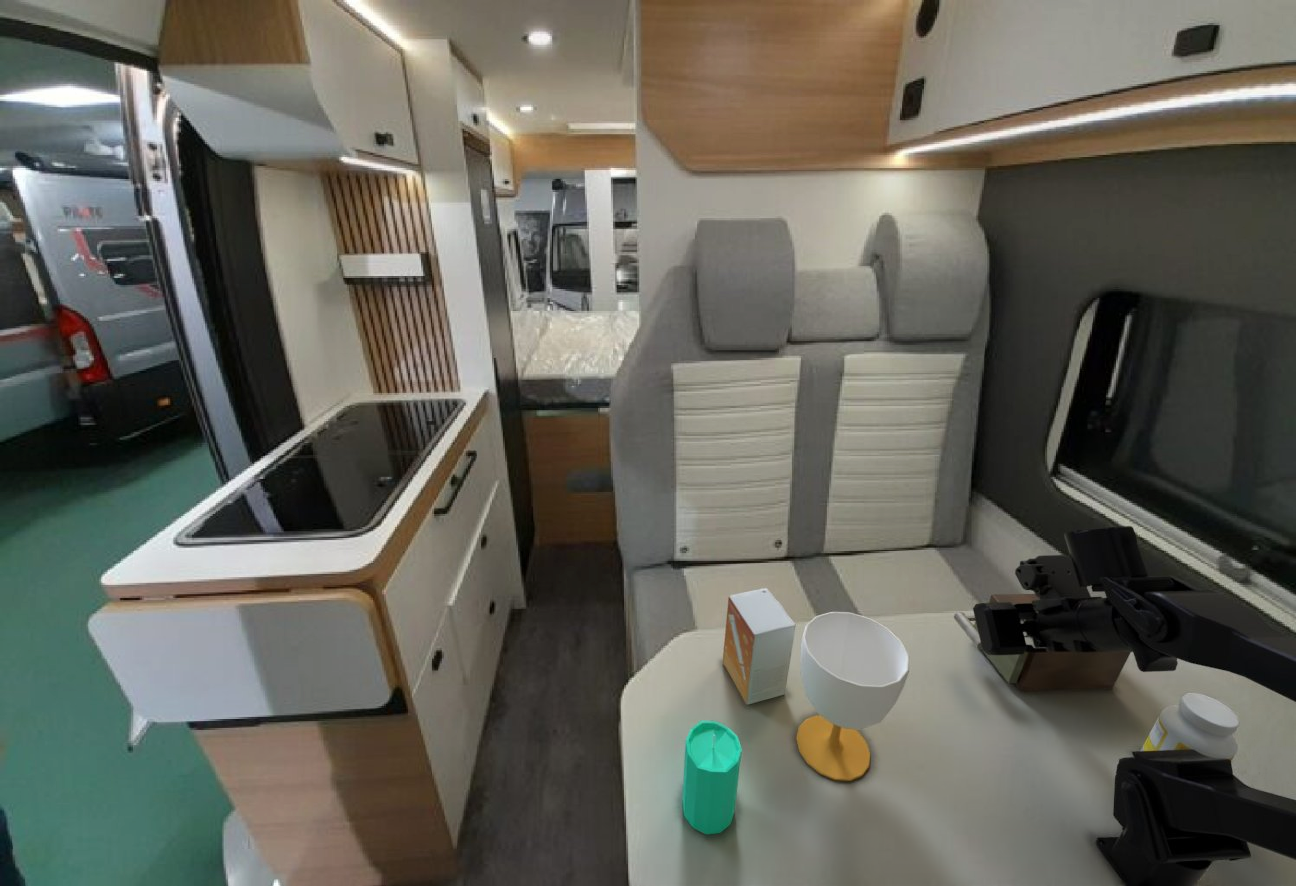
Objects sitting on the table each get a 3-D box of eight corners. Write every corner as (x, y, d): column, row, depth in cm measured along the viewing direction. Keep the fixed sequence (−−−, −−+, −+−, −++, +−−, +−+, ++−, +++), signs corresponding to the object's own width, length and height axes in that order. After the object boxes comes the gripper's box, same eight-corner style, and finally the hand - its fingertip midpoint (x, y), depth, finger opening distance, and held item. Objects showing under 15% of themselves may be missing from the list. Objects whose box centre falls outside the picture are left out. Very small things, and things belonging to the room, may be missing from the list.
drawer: (974, 683, 77) (987, 648, 74) (939, 635, 85) (949, 602, 82) (1092, 681, 77) (1109, 645, 74) (1046, 633, 86) (1060, 600, 83)
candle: (673, 791, 63) (677, 720, 58) (719, 773, 65) (726, 703, 60) (695, 843, 58) (701, 770, 53) (744, 822, 60) (753, 750, 55)
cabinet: (1020, 690, 77) (1039, 645, 73) (976, 636, 86) (991, 594, 83) (1112, 689, 77) (1135, 643, 74) (1058, 635, 87) (1076, 592, 83)
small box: (721, 662, 81) (727, 594, 76) (759, 653, 83) (767, 586, 77) (745, 706, 74) (754, 634, 68) (786, 695, 76) (797, 624, 70)
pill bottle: (1220, 809, 62) (1269, 740, 57) (1156, 797, 63) (1198, 729, 58) (1181, 757, 68) (1222, 691, 63) (1123, 747, 69) (1159, 681, 64)
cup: (785, 779, 64) (803, 675, 58) (786, 699, 75) (801, 603, 68) (888, 803, 62) (921, 698, 55) (874, 717, 72) (900, 620, 65)
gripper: (1154, 551, 64) (1055, 568, 79) (1004, 555, 63) (932, 571, 78) (1190, 651, 60) (1079, 649, 75) (1030, 656, 59) (950, 654, 74)
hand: (1009, 628), depth 75 cm, fingers closed
